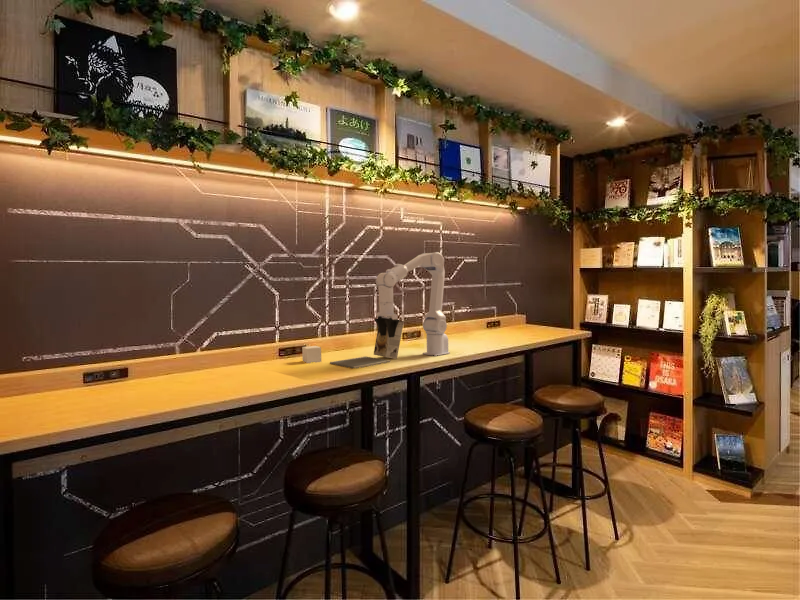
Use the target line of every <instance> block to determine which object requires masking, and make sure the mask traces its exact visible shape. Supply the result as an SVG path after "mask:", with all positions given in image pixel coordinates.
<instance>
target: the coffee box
mask: <svg viewBox="0 0 800 600" xmlns="http://www.w3.org/2000/svg"><path fill="white" fill-rule="evenodd" d="M388 320H389V319H388ZM396 320H399V323H398V325H397V327H396V331H395V336H394V337H390V338H389V336H388V329H387V327H386V335H383V336H380V332H379V328H378V327H377V332H376V337H375V343H374V350H373V356H377V357H382V358H389V359H394V360H395V359H396V360H397V359H398V354H399V349H400V344H401V339H402V334H403V328H404V327H403V326H404V323H405V322H404V320H400V319H398V318H397V319H396Z"/></svg>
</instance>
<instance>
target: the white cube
mask: <svg viewBox="0 0 800 600" xmlns="http://www.w3.org/2000/svg"><path fill="white" fill-rule="evenodd" d="M301 348H302V349H301V352H302V354H301V355H302V357H301V358H302V359H301V360H302V362H303V361H304V362H303V363H305V362H306V364H312V363H311V362H315V363H322V347H321V346H318V345H312V346H311V345H309V346H302V347H301Z"/></svg>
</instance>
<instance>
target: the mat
mask: <svg viewBox="0 0 800 600" xmlns="http://www.w3.org/2000/svg"><path fill="white" fill-rule="evenodd" d="M387 362H389V363H392V362H391V360H389V359H382V358H377V357H371V356H360V357H353V358H347V359H341V360H333V361H330V362H329V365H334V364H336V365H335V366H339V365H340V366H339V367H344V366H345V368H348V367H350V368H349V369H353V368H356V369H360V368H359V367H361V368H366V367H365V366H367V367H372V366H377V365H376V364H378V365H382V364H381V363H384V364H388V363H387ZM371 365H372V366H371Z"/></svg>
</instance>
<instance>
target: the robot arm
mask: <svg viewBox="0 0 800 600" xmlns="http://www.w3.org/2000/svg"><path fill="white" fill-rule="evenodd" d="M444 264H445V258H444V256H443V254H441V253H440V252H438V251H435V252H427V253H426V252H423V253H421V254H418V255H417V256H416V257H414V258H413V259H411V260H409V261H408V262H407V263H405V264H401V263H395V264H394V266H393V267H392V268H388V269H386V270H385V272H380V273H379V274H378V275H377V277H376V279H375V284H376V286H377V287H378V288H377V289H378V303H379V308H378V309H379V311H378V312H376V318H375V319H374V321H375V323H376V325H377V329H378V328H379V332H380V336H383V335H386V327H387V329H388V336H389V338H390V337H394V336H395V331H396V327H397V325H398V323H399V320H400V319H398V314H397V313H394V311H395V310H394V308H395V307H394V306H395V305H394V304H395V303H394V286H395V285H396V283H398V282H399V281H401V280H402V279H404V278H406V277H407V276H408V272H411V271H413V270H414V269H417V268H418V267H421V268H423V269H424V270H425V271H427V272H428V273H429V274H430V275H431V285H430V298H429V309H428V312H427V313H426V314H425V315H424V320H423V321H422V329H423V331H424V332H425V335H426V352H425V351H424V352H422V355H427V356H433V355H434V357H437V355H438V356H442V355H446V354H447V355H448V354H451V351H449V337H448V335H447V334H446V333H445V332H446V330H447V328H448V324H447V321H446V320H447V316H446V315H445V314H444V313H443V300H444V299H443V298H444V288H445V276H446V270H445V266H444ZM388 319H389V320H388ZM396 319H397V320H396Z"/></svg>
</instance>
